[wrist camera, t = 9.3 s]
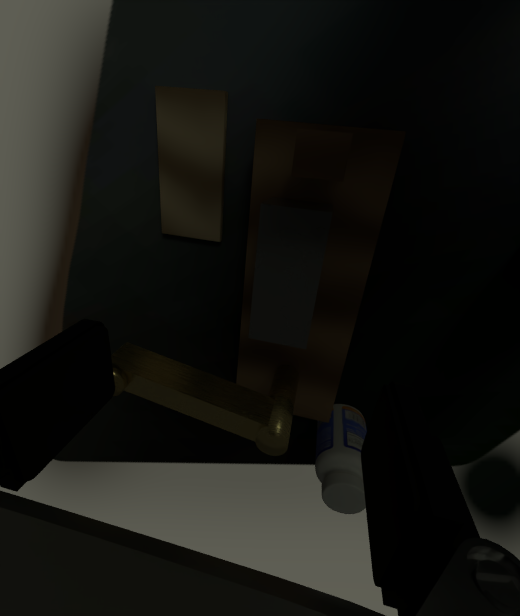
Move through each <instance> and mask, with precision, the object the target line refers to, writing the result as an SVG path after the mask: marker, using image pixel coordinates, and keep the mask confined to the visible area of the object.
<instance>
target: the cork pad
mask: <svg viewBox="0 0 520 616" xmlns="http://www.w3.org/2000/svg"><path fill="white" fill-rule="evenodd" d="M155 90H156V112H157V134H158V156H159V178H160V200H161V221H162V233H164V234H171V235H177V236H184V237H190V238H197V239H204V240H210V241H217V242H221V241H222V225H223V201H224V176H225V152H226V127H227V102H228V92H226V91H217V90H204V89H190V88H176V87H163V86H155Z"/></svg>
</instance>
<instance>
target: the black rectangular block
mask: <svg viewBox="0 0 520 616" xmlns="http://www.w3.org/2000/svg"><path fill="white" fill-rule="evenodd" d="M332 213H333V204H325V203H317V202H309V201H301V200H293V199H285V198H277V197H272V198H270V199H268V200H266V201H265V202H263V203H261V206H260V217H259V228H258V239H257V250H256V261H255V272H254V282H253V293H252V304H251V315H250V326H249V337H248V338H251V339H256V340H261V341H266V342H271V343H276V344H281V345H286V346H291V347H296V348H301V349H306V348H307V342H308V337H309V332H310V327H311V322H312V317H313V311H314V306H315V301H316V296H317V291H318V286H319V280H320V275H321V270H322V265H323V260H324V255H325V249H326V244H327V239H328V234H329V229H330V224H331V218H332Z"/></svg>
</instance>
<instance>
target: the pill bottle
mask: <svg viewBox="0 0 520 616" xmlns="http://www.w3.org/2000/svg"><path fill="white" fill-rule="evenodd" d="M366 433H367V429H366V423H365V419H364V417H363V415H362V414H361V412H360V411H359V410H357V409H356V408H354V407H352V406H349V405H345V404H334V405H333V409H332V413H331V416H330V420H329V423H327V422H322V421H318V424H317V444H316V462H315V467H316V468H315V469H316V474H317V477H318V479H319V480H320V481H321V483H322V499H323V501H324V503H325V504H326V505H327V506H328V507H329V508H331V509H332V510H334V511H337V512H340V513H344V514H355V513H358V512H360V511H362V510H364V509H365V508H366V503H365V494H364V484H363V474H362V465H361V449H362V445H363V442H364V439H365V436H366Z"/></svg>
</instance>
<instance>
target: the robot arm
mask: <svg viewBox="0 0 520 616" xmlns="http://www.w3.org/2000/svg"><path fill="white" fill-rule="evenodd" d="M114 392H115V381H114V374H113V366H112V359H111V351H110V344H109V336H108V330H107V328H106V327H104V324H103V323H101V322H98V321H93V320H89V319H83V320H81V321H79V322H78V323H76V324H74V325H73V326H71V327H69V328H68V329H66V330H64V331H63V332H61V333H59V334H58V335H56V336H54V337H53V338H51V339H50V340H48V341H46V342H45V343H43V344H41V345H39V346H38V347H36V348H35V349H33V350H31V351H30V352H28V353H26V354H24V355H23V356H21V357H19V358H18V359H16V360H15V361H13V362H11V363H10V364H8V365H6V366H5V367H3V368H1V369H0V486H1V487H3V488H7V489H10V490H13V491H18V490H19V489H20V488H21V487H22V486H23V485H24V484H25V483H26V482H27V481H30V480H32V479H34V478H35V477H36V476H37V475H38V474H39V473H40V472H41V471H42V470H43V469H44V468H45V467H46V465H47V464H48V463H49V462H50V461H51V460H52V459H53V458H54V457H55V456H56V455H57V454H58V453H59V452H60V451H61V450H62V449H63V448H64V447H65V446H66V445H67V444H68V443H69V442H70V441H71V440H72V438H73V437H74V436H75V435H76V434H77V433H78V432H79V431H80V430H81V429H82V428H83V427H84V426H85V425H86V424H87V423H88V422H89V421H90V420H91V419H92V418H93V417H94V416H95V415H96V414H97V413H98V411H99V410H100V409H101V408H102V407H103V406H104V405H105V404H106V403H107V402H108V401H109V400H110V399H111V398H112V397H113V395H114ZM361 465H362V474H363V484H364V494H365V503H366V512H367V522H368V532H369V542H370V551H371V561H372V571H373V579H374V583H375V585H376V586H378V587H381V589H382V597H383V604H384V605H386V606H390V607H393V608H396V609H397V610H398V616H520V560H519V559H518V558H517V557H515V556H514V555H513V554H512V553H510V552H509V551H508V550H506V549H505V548H503V547H502V546H500V545H498V544H496V543H494V542H492V541H489V540H487V539H482V538H480V536H479V534H478V531H477V529H476V526H475V524H474V521H473V519H472V516H471V514H470V512H469V509H468V507H467V504H466V502H465V499H464V497H463V495H462V492H461V489H460V487H459V484H458V482H457V480H456V477H455V474H454V472H453V470H452V467H451V465H450V462H449V460H448V457H447V455H446V452H445V450H444V447H443V445H442V443H441V441H440V439H439V438H438V437H436V436H432V435H431V433H430V430H429V428H428V425H427V422H426V420H425V417H424V414H423V412H422V409H421V406H420V404H419V401H418V398H417V396H416V393H415V391H414V388H413V386H412V385H408V384H403V383H398V382H393V381H392V382H391V383H390V384H389V385H383V387H382V389H381V392H380V395H379V398H378V401H377V404H376V407H375V410H374V413H373V416H372V419H371V421H370V424H369V427H368V430H367V433H366V436H365V439H364V442H363V445H362V449H361ZM0 616H385V615H383V614H380V613H378V612H375V611H373V610H370V609H368V608H365V607H363V606H360V605H358V604H355V603H353V602H350V601H347V600H344V599H341V598H338V597H335V596H332V595H329V594H326V593H323V592H320V591H317V590H314V589H312V588H309V587H306V586H303V585H300V584H297V583H294V582H291V581H288V580H285V579H282V578H279V577H276V576H273V575H270V574H266V573H263V572H260V571H257V570H254V569H251V568H247V567H244V566H241V565H238V564H235V563H231V562H229V561H225V560H222V559H219V558H216V557H213V556H210V555H207V554H203V553H200V552H197V551H194V550H191V549H188V548H184V547H181V546H178V545H175V544H172V543H169V542H165V541H162V540H159V539H156V538H152V537H149V536H146V535H143V534H139V533H136V532H133V531H130V530H127V529H124V528H120V527H117V526H114V525H111V524H107V523H104V522H101V521H98V520H94V519H91V518H88V517H85V516H82V515H78V514H75V513H72V512H68V511H66V510H62V509H59V508H56V507H52V506H49V505H46V504H42V503H39V502H36V501H33V500H29V499H26V498H23V497H20V496H16V495H13V494H10V493H6V492H3V491H0Z"/></svg>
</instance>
